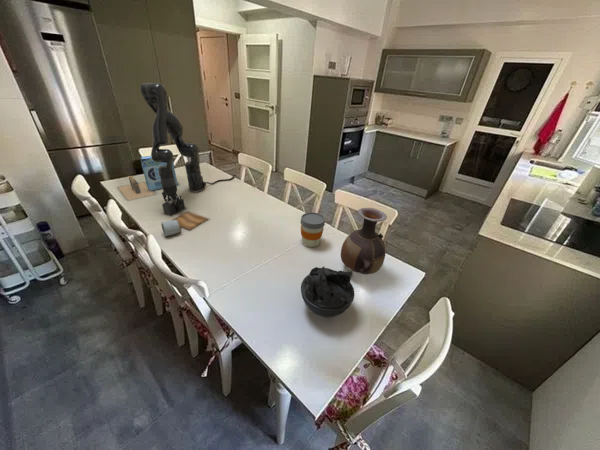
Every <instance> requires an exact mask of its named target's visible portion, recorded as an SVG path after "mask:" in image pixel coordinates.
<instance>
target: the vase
mask: <svg viewBox="0 0 600 450" xmlns="http://www.w3.org/2000/svg"><path fill="white" fill-rule="evenodd" d="M357 214H358V216H359V217H361V218H362V219H363V223H362V227H361V228H360V229H355V230H353V231H352V232H350V233H349V234H348V235H347V236H346V238H345V240H344V241H343V243H342V245H341V249H340V260H341V262H342V264H343V265H344V266H345V267H346V268H348V269H349V270H350V271H352V272H355V273H358V274H361V275H372V274H376V273H378V272H379V271H380V270H381V268H382V266H383V265H384V263H385V258H386V245H385V242H384V240H383V238H384V235H383V234H382V233H377V232H376V227H377V224H378V222H383V221H386V220H387V218H388V217H387V214H386V213H384V211H382V210H380V209H377V208H373V207H362V208H359V209H358V210H357Z"/></svg>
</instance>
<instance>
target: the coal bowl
mask: <svg viewBox="0 0 600 450" xmlns="http://www.w3.org/2000/svg"><path fill="white" fill-rule="evenodd" d="M352 277H353V271H352V270H350V271H344V270H334V269H332V268H328V267H325V266H322V267H317V266H316V267H313V268H312V269H311V270H310V272H309V274H307V275H306V276H305V277H304V278H303V280H302V282H301V284H300V293H301V298H302V300H303V302H304V305H305V306H306V307H307V308H308V309H309V310H310V311H311V312H312V313H314V314H315V315H317V316H320V317H325V318H333V317H337V316H339V315H342V314H344V313H345V312H346V311H347V310H348V309H350V307H351V305H352V304H353V302H354V299H355V289H354V288H355V287H354V286H353V284H352V282H351V280H352Z"/></svg>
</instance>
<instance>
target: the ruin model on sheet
mask: <svg viewBox="0 0 600 450" xmlns="http://www.w3.org/2000/svg"><path fill="white" fill-rule="evenodd" d="M127 177H128V180H129V184H128V185H124V186H120V187H118V189H119V191H120V192H121V194H123V196H124V197H125V198H126V200H127V201H131V200H136V199H140V198H143V197H148V196H152V195H156V193H155V192H154V190H151V191H150V190H149V189H148V188H147V184H146V182H138V181H137V179H136V178H134V177H133V176H131V175H127Z"/></svg>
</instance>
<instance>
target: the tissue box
mask: <svg viewBox="0 0 600 450" xmlns="http://www.w3.org/2000/svg"><path fill="white" fill-rule="evenodd" d="M174 201H176V200H174ZM181 201H182V205H179V207H180V211H176V207H175V204H174V203H173V202H172V200H170V201H168V202H165V201H164V202H163V203H161V205H162V210H163V213H164V215H167V216H169V217H171V216H174V215H175V214H178V213H179V212H182V211H184V210H186V204H185V200H184V198H181ZM179 203H180V202H179ZM176 204H177V202H176Z"/></svg>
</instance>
